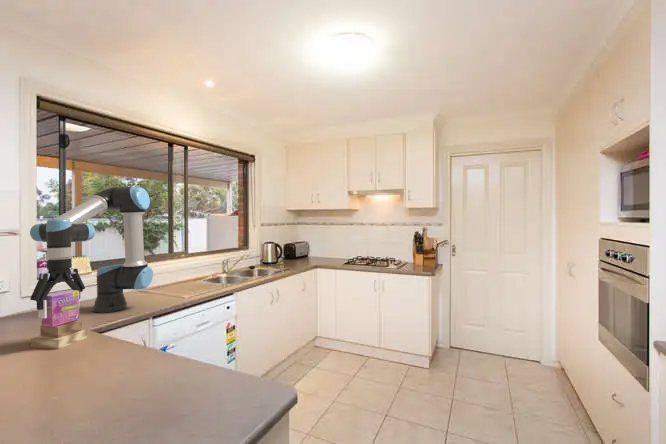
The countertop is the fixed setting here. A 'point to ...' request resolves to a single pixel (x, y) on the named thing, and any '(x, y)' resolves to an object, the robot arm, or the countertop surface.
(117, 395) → the countertop surface
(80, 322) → the tower top
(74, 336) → the tower base
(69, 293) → the box
